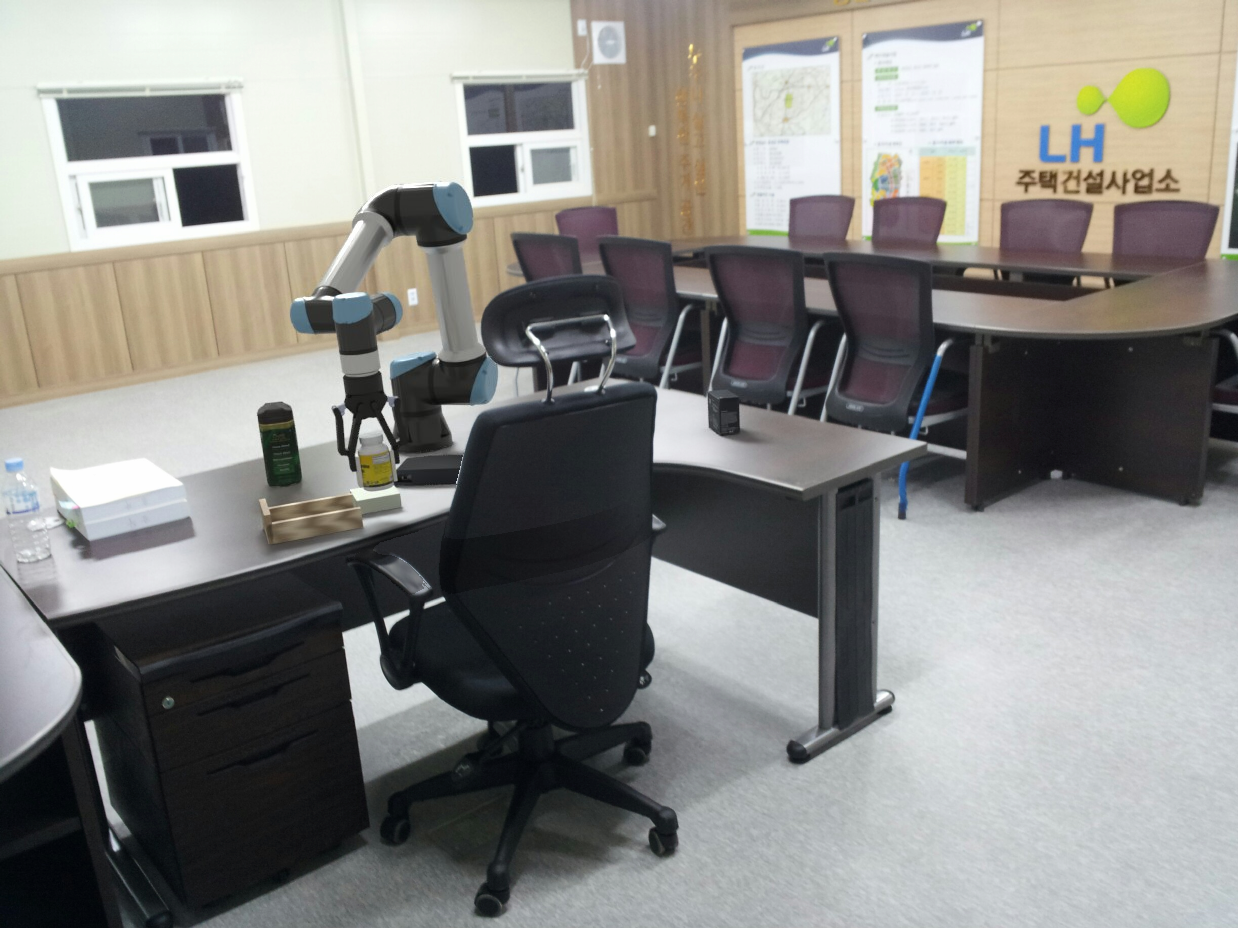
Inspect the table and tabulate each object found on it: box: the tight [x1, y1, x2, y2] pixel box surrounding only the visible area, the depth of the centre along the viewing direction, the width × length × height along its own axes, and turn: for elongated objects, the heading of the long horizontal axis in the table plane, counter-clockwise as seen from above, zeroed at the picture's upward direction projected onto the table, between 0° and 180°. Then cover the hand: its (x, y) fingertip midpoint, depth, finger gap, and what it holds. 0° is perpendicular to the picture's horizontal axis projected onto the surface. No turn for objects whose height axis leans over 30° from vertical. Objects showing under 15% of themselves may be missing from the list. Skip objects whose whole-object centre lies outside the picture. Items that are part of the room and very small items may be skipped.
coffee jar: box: [256, 401, 303, 488], centre depth 247 cm, size 10×8×19 cm
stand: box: [349, 485, 403, 515], centre depth 228 cm, size 9×9×3 cm
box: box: [706, 389, 741, 436], centre depth 268 cm, size 9×6×10 cm, turn 13°
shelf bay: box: [258, 492, 364, 546], centre depth 217 cm, size 18×11×6 cm, turn 113°
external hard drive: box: [394, 453, 464, 487], centre depth 246 cm, size 13×19×4 cm
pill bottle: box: [357, 432, 394, 491], centre depth 219 cm, size 6×6×11 cm
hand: (377, 482), depth 221 cm, fingers closed on pill bottle, 6 cm apart
